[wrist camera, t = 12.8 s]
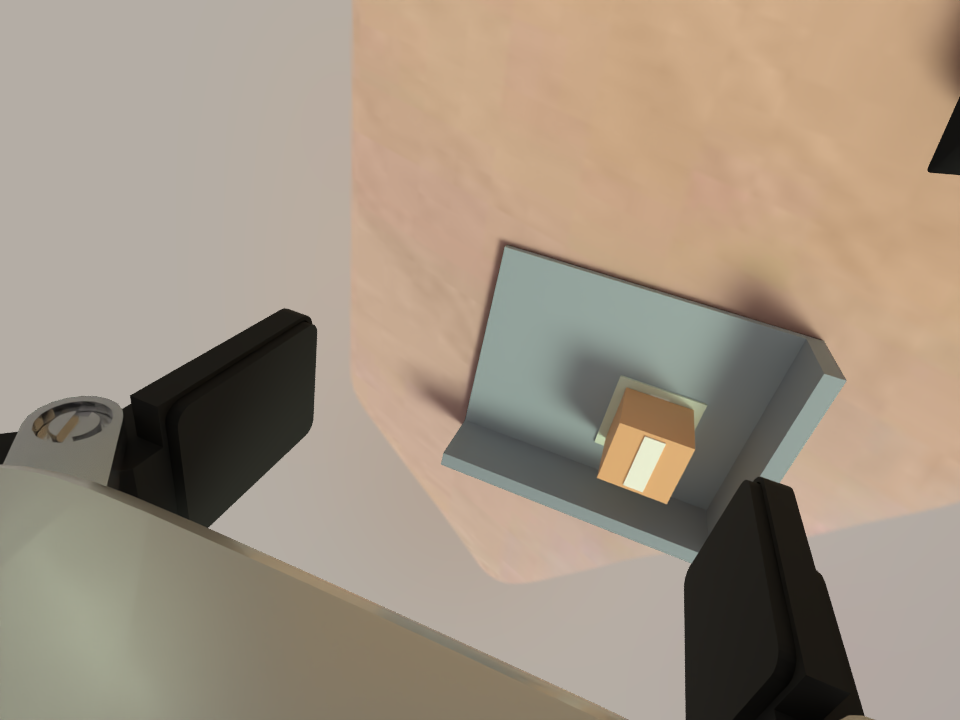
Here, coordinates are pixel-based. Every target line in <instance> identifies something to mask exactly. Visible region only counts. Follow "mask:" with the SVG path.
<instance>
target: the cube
mask: <svg viewBox="0 0 960 720" xmlns="http://www.w3.org/2000/svg"><path fill="white" fill-rule="evenodd" d="M694 451H695V429H694V410H692V409H689V408H686V407H683V406H680V405H677V404H674V403H671V402H668V401H665V400H662V399H659V398H656V397H653V396H651V395H648V394H645V393H642V392H639V391H636V390H633V389H630V388H627V387H626V389H625V392H624V394H623V397H622V399H621V402H620V404H619V407H618V409H617V412H616V414H615V417H614V419H613V421H612V424H611V426H610V429H609V431H608V434H607V436H606V439H605V443H604V448H603V452H602V457H601V462H600V466H599V471H598V475H597V478H599V479H601V480H604V481H606V482H609V483H612V484H614V485H617V486H620V487H622V488H625V489H628V490H630V491H633V492H636V493H638V494H641V495H644V496H646V497H649V498H652V499H654V500H657V501H660V502H662V503H665V504H667V503H668V501H669V499H670V497H671V495H672V493H673V491H674V489H675V487H676V486H677V484H678V482H679V480H680V478H681V476H682V474H683V472H684V470H685V468H686V466H687V465H688V463H689V461H690V459H691V457H692V455H693V453H694Z"/></svg>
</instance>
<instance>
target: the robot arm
mask: <svg viewBox="0 0 960 720" xmlns="http://www.w3.org/2000/svg"><path fill="white" fill-rule="evenodd" d="M316 345H317V328H316V326H315V325H313V324H312V321H311V318H310V317H308V316H306V315H304V314H300V313H298V312H295V311H292V310H289V309H282V310H279V311H278V312H276V313H274V314H272V315H271V316H269V317H267V318H265V319H264V320H262V321H260V322H258V323H257V324H255V325H253V326H251V327H250V328H248V329H246V330H244V331H243V332H241V333H239V334H237V335H235V336H234V337H232V338H231V339H228V340H227V341H225V342H223V343H222V344H220V345H218V346H216V347H214V348H213V349H211V350H209V351H207V352H206V353H204V354H202V355H201V356H199V357H197V358H195V359H194V360H192V361H190V362H188V363H186V364H185V365H183V366H181V367H179V368H178V369H176V370H174V371H172V372H171V373H169V374H167V375H165V376H164V377H162V378H160V379H158V380H157V381H155V382H153V383H151V384H150V385H148V386H146V387H144V388H143V389H141V390H139V391H137V392H136V393H134V394H132V395H130V398H131V404H130V405H128V406H127V407H125V408H123V409H121V408H120V406H119V405H118V404H117V403H115V402H114V401H112V400H109V399H106V398H102V397H97V396H79V397H71V398H66V399H62V400H58V401H55V402H51V403H49V404H47V405H45V406H43V407H40V408H38V409H37V410H35V411H34V412H33V413H31V414H30V415H29V416H27V418H26V419H25V420H24V422H23V423H22V425H21V426H20V429H19V431H18V432H13V433H4V434H0V720H628V719H626V718H624V717H622V716H620V715H618V714H616V713H613V712H611V711H609V710H607V709H605V708H603V707H601V706H599V705H597V704H594V703H592V702H590V701H588V700H586V699H584V698H581V697H579V696H577V695H575V694H573V693H571V692H568V691H566V690H564V689H562V688H559V687H557V686H555V685H553V684H551V683H549V682H547V681H544V680H542V679H540V678H538V677H536V676H534V675H531V674H529V673H527V672H525V671H523V670H521V669H518V668H516V667H514V666H512V665H510V664H507V663H505V662H503V661H501V660H499V659H496V658H494V657H492V656H490V655H488V654H486V653H483V652H481V651H479V650H477V649H475V648H473V647H471V646H468V645H466V644H464V643H462V642H459V641H457V640H455V639H453V638H451V637H449V636H446V635H444V634H442V633H440V632H438V631H435V630H433V629H431V628H428V627H427V626H424V625H422V624H420V623H418V622H416V621H413V620H411V619H409V618H407V617H405V616H402V615H400V614H398V613H396V612H394V611H391V610H389V609H387V608H385V607H382V606H380V605H378V604H376V603H374V602H371V601H369V600H367V599H365V598H363V597H360V596H358V595H356V594H354V593H352V592H349V591H347V590H345V589H343V588H341V587H338V586H336V585H334V584H332V583H329V582H327V581H325V580H323V579H321V578H318V577H316V576H314V575H312V574H309V573H307V572H305V571H303V570H301V569H298V568H296V567H294V566H292V565H289V564H287V563H285V562H283V561H280V560H278V559H276V558H274V557H271V556H269V555H267V554H265V553H262V552H260V551H258V550H256V549H254V548H251V547H249V546H247V545H245V544H242V543H240V542H238V541H236V540H233V539H231V538H229V537H227V536H224V535H222V534H220V533H218V532H215V531H213V530H211V529H209V528H208V527H209V526H210V525H211V524H212V523H213V522H215V521H216V520H217V519H218V518H219V517H220V516H221V515H222V514H223V513H224V512H225V511H226V510H227V509H228V508H229V507H230V506H232V505H233V504H234V503H235V502H236V501H237V500H238V499H239V498H240V497H241V496H242V495H243V494H244V493H245V492H246V491H247V490H248V489H250V488H251V487H252V486H253V485H254V484H255V483H256V482H257V481H258V480H259V479H260V478H261V477H262V476H263V475H264V474H265V473H266V472H267V471H269V470H270V469H271V468H272V467H273V466H274V465H275V464H276V463H277V462H278V461H279V460H280V459H281V458H282V457H283V456H284V455H285V454H286V453H288V452H289V451H290V450H291V449H292V448H293V447H294V446H295V445H296V444H297V443H298V442H299V441H300V440H301V439H302V438H303V437H304V436H306V434H307V433H308V432H309V430H310V428H311V426H312V423H313V414H314V392H315V368H316V347H317V346H316ZM684 614H685V615H684V617H685V698H686V720H874V719H871V718H868V717H865V716H864V713H863V709H862V706H861V702H860V699H859V695H858V692H857V689H856V685H855V682H854V679H853V675H852V672H851V668H850V665H849V661H848V658H847V655H846V651H845V648H844V645H843V641H842V638H841V634H840V631H839V628H838V624H837V621H836V617H835V614H834V611H833V607H832V604H831V601H830V597H829V594H828V591H827V587H826V584H825V581H824V579H823V577H822V575H821V574H820V573H819V572H818V571H816V569H815V565H814V561H813V558H812V554H811V551H810V547H809V544H808V540H807V537H806V533H805V530H804V526H803V523H802V519H801V516H800V512H799V509H798V505H797V502H796V498H795V494H794V491H793V489H792V488H791V487H789V486H786V485H783V484H780V483H778V482H775V481H772V480H769V479H766V478H763V477H761V476H760V477H757V478H756V479H754V481H753V482H752V481H749V480H744V481H743V482H742V483H741V485H740V486H739V488H738V489H737V491H736V493H735V494H734V496H733V497H732V499H731V501H730V502H729V504H728V506H727V507H726V509H725V510H724V512H723V514H722V515H721V517H720V518H719V520H718V522H717V523H716V525H715V527H714V528H713V530H712V531H711V533H710V535H709V536H708V538H707V539H706V541H705V543H704V544H703V546H702V548H701V549H700V551H699V552H698V554H697V556H696V557H695V559H694V560H693V562H692V564H691V565H690V567H689V569H688V571H687V574H686V577H685V583H684Z"/></svg>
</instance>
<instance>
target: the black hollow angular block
mask: <svg viewBox="0 0 960 720" xmlns="http://www.w3.org/2000/svg"><path fill="white" fill-rule="evenodd" d="M927 170H928V172H930V173H941V174H953V175H960V97H959V100H958V102H957V104H956V106H955V108H954V111H953V113H952V115H951V117H950V120H949V122H948V124H947V126H946V129H945V131H944V133H943V135H942V138H941V140H940V142H939V144H938V146H937V149H936V151H935V153H934V155H933V158H932V160H931V162H930V164H929V167H928V169H927Z"/></svg>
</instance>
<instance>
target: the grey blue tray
mask: <svg viewBox="0 0 960 720" xmlns="http://www.w3.org/2000/svg"><path fill="white" fill-rule="evenodd" d="M845 382H846V379H845V377H844V375H843V374H842V372H841V370H840V368H839V367H838V365H837V363H836V361H835V360H834V358H833V356H832V354H831V353H830V351H829V349H828V347H827V346H826V344H825V342H824V341H822V340H819V339H816V338H812V337H809V336H806V335H803V334H799V333H796V332H793V331H789V330H786V329H783V328H779V327H776V326H773V325H770V324H766V323H763V322H760V321H756V320H753V319H750V318H747V317H743V316H740V315H737V314H733V313H730V312H727V311H723V310H720V309H717V308H714V307H710V306H707V305H704V304H700V303H697V302H694V301H691V300H687V299H684V298H681V297H677V296H674V295H671V294H667V293H664V292H661V291H658V290H654V289H651V288H648V287H644V286H641V285H638V284H634V283H631V282H628V281H625V280H621V279H618V278H615V277H611V276H608V275H605V274H602V273H598V272H595V271H592V270H588V269H585V268H582V267H578V266H575V265H572V264H569V263H565V262H562V261H559V260H555V259H552V258H549V257H546V256H542V255H539V254H536V253H532V252H529V251H526V250H522V249H519V248H516V247H513V246H509V245H506V246H505V249H504V253H503V257H502V262H501V266H500V270H499V275H498V279H497V283H496V288H495V292H494V297H493V301H492V305H491V310H490V314H489V318H488V323H487V327H486V331H485V336H484V340H483V344H482V349H481V353H480V358H479V362H478V366H477V371H476V375H475V379H474V384H473V388H472V392H471V397H470V401H469V406H468V410H467V414H466V419H465V421H464V422H463V424H462V426H461V427H460V429H459V430H458V432H457V433H456V435H455V436H454V438H453V439H452V441H451V442H450V444H449V445H448V447H447V448H446V450H445V451H444V453H443V458H442V462H441V465H444V466H446V467H449V468H451V469H454V470H456V471H459V472H461V473H464V474H466V475H469V476H472V477H474V478H477V479H479V480H482V481H484V482H487V483H489V484H492V485H494V486H497V487H499V488H502V489H504V490H507V491H509V492H512V493H515V494H517V495H520V496H522V497H525V498H527V499H530V500H532V501H535V502H537V503H540V504H542V505H545V506H547V507H550V508H552V509H555V510H557V511H560V512H563V513H565V514H568V515H570V516H573V517H575V518H578V519H580V520H583V521H585V522H588V523H590V524H593V525H595V526H598V527H600V528H603V529H606V530H608V531H611V532H613V533H616V534H618V535H621V536H623V537H626V538H628V539H631V540H633V541H636V542H638V543H641V544H643V545H646V546H649V547H651V548H654V549H656V550H659V551H661V552H664V553H666V554H669V555H671V556H674V557H677V558H679V559H681V560H684V561H686V562H689V563H691V564H692V562H693V560H694V559H695V557H696V556H697V554H698V552H699V551H700V549H701V548H702V546H703V544H704V543H705V541H706V539H707V538H708V536H709V535H710V533H711V531H712V530H713V528H714V527H715V525H716V523H717V522H718V520H719V518H720V517H721V515H722V514H723V512H724V510H725V509H726V507H727V506H728V504H729V502H730V501H731V499H732V497H733V496H734V494H735V493H736V491H737V489H738V488H739V486H740V485H741V483H742V482H743V481H744V480H749V481H752V482H753V481H754V479H756V478H757V477H760V476H761V477H763V478H766V479H769V480H772V481H775V482H778V483H780V481H781V480H782V478H783V477H784V475H785V474H786V472H787V471H788V469H789V468H790V466H791V465H792V463H793V462H794V460H795V459H796V457H797V455H798V454H799V452H800V451H801V449H802V448H803V446H804V445H805V443H806V442H807V440H808V439H809V437H810V436H811V434H812V433H813V431H814V430H815V428H816V427H817V425H818V424H819V422H820V420H821V419H822V417H823V416H824V414H825V413H826V411H827V410H828V408H829V407H830V405H831V404H832V402H833V401H834V399H835V398H836V396H837V395H838V393H839V392H840V390H841V389H842V387H843V385H844V384H845ZM626 387H627V388H630V389H633V390H636V391H639V392H642V393H645V394H648V395H651V396H653V397H656V398H659V399H662V400H665V401H668V402H671V403H674V404H677V405H680V406H683V407H686V408H689V409H692V410H694V429H695V451H694V453H693V455H692V457H691V459H690V461H689V463H688V465H687V466H686V468H685V470H684V472H683V474H682V476H681V478H680V480H679V482H678V484H677V486H676V487H675V489H674V491H673V493H672V495H671V497H670V499H669V501H668V503H667V504H665V503H662V502H660V501H657V500H654V499H652V498H649V497H646V496H644V495H641V494H638V493H636V492H633V491H630V490H628V489H625V488H622V487H620V486H617V485H614V484H612V483H609V482H606V481H604V480H601V479H599V478H597V475H598V471H599V466H600V462H601V457H602V452H603V448H604V443H605V439H606V436H607V434H608V431H609V429H610V426H611V424H612V421H613V419H614V417H615V414H616V412H617V409H618V407H619V404H620V402H621V399H622V397H623V394H624V392H625V389H626Z"/></svg>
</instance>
